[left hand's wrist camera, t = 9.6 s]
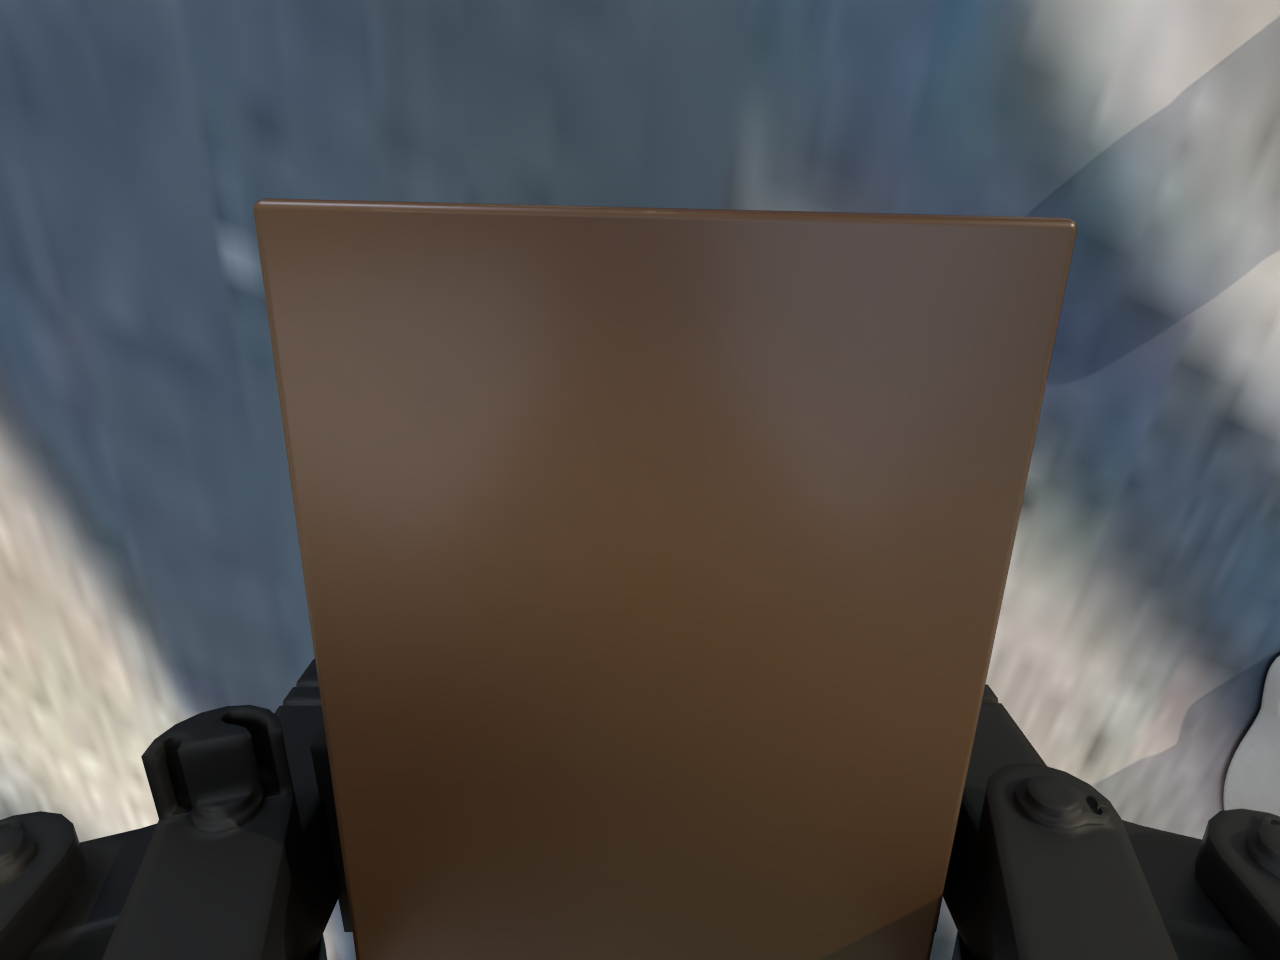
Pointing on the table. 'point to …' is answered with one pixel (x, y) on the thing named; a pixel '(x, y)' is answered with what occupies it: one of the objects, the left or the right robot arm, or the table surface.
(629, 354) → the post
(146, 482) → the table surface
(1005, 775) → the left robot arm
